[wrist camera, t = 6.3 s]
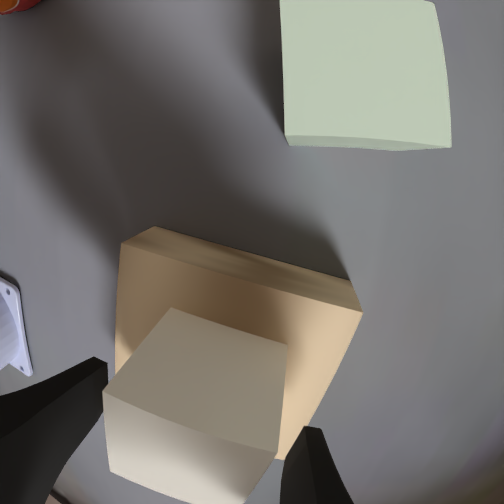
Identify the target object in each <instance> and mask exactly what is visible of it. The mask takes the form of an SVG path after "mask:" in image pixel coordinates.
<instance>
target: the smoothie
mask: <svg viewBox="0 0 504 504" xmlns="http://www.w3.org/2000/svg"><path fill="white" fill-rule="evenodd" d="M40 1H41V0H0V14H2V15H4V14H10V13H12V12H14V11H25V10H27V9H29V8H31V7H33V6H34V5H36V4H37V3H38V2H40Z"/></svg>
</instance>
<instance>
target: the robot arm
mask: <svg viewBox="0 0 504 504" xmlns="http://www.w3.org/2000/svg"><path fill="white" fill-rule="evenodd" d="M8 363H10V364H11V365H12V366H14V367H15V368H17V369H18V370H20V371H21V372H23V373H24V374H25V375H27V376H31V375H32V374H33V371H32V366H31V362H30V357H29V352H28V347H27V342H26V336H25V330H24V323H23V316H22V309H21V300H20V293H19V290H18V288H17V287H16V286H15V285H13V284H11V283H10V282H8V281H6V280H4V279H3V278H1V277H0V370H1V369H2V368H3V367H5V366H6V365H7V364H8ZM107 385H108V368H107V363H106V362H104V361H102V360H100V359H98V358H96V357H92V358H90V359H88V360H85V361H83V362H81V363H79V364H77V365H75V366H74V367H72V368H70V369H68V370H65V371H63V372H61V373H59V374H57V375H55V376H53V377H51V378H49V379H46V380H44V381H42V382H39V383H37V384H34V385H32V386H29V387H27V388H24V389H22V390H19V391H16V392H12V393H9V394H5V395H1V396H0V504H45V502H46V500H47V497H48V496H49V494H50V491H51V489H52V487H53V485H54V483H55V482H56V480H57V478H58V476H59V474H60V472H61V471H62V469H63V467H64V465H65V464H66V462H67V461H68V459H69V458H70V457H71V455H72V454H73V453H74V451H75V450H76V449H77V447H78V446H79V445H80V443H81V442H82V441H83V439H84V438H85V437H86V435H87V434H88V433H89V432H90V430H91V429H92V428H93V426H94V425H95V423H96V422H97V421H98V419H99V417H100V416H101V414H102V412H103V394H102V391H103V390H104V389H105V387H106V386H107ZM280 504H354V503H353V501H352V499H351V498H350V496H349V494H348V492H347V490H346V488H345V486H344V484H343V482H342V480H341V477H340V475H339V473H338V471H337V469H336V466H335V464H334V461H333V459H332V456H331V454H330V451H329V449H328V446H327V443H326V440H325V438H324V435H323V432H322V430H321V429H320V428H315V427H309V426H303V428H302V430H301V432H300V433H299V435H298V437H297V439H296V440H295V442H294V444H293V445H292V447H291V449H290V450H289V452H288V454H287V455H286V457H285V462H284V467H283V473H282V479H281V492H280Z"/></svg>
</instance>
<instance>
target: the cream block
mask: <svg viewBox="0 0 504 504" xmlns="http://www.w3.org/2000/svg"><path fill="white" fill-rule="evenodd" d="M287 350H288V345H287V344H283V343H280V342H276V341H273V340H269V339H266V338H263V337H259V336H256V335H253V334H250V333H246V332H243V331H240V330H237V329H234V328H231V327H227V326H224V325H221V324H218V323H215V322H212V321H209V320H206V319H203V318H200V317H197V316H195V315H192V314H189V313H186V312H183V311H180V310H177V309H175V308H172V307H171V308H170V309H169V310H168V311H167V312H166V314H165V315H164V316H163V317H162V318H161V320H160V321H159V322H158V323H157V325H156V326H155V327H154V328H153V329H152V331H151V332H150V333H149V334H148V335H147V337H146V338H145V339H144V340H143V342H142V343H141V344H140V345H139V346H138V348H137V349H136V350H135V351H134V353H133V354H132V355H131V356H130V357H129V359H128V360H127V361H126V362H125V364H124V365H123V366H122V367H121V369H120V370H119V371H118V372H117V374H116V375H115V376H114V377H113V379H112V380H111V381H110V382H109V384H108V385H107V386H106V387H105V389H104V390H103V391H102V394H103V410H104V423H105V433H106V443H107V451H108V459H109V466H110V471H111V472H113V473H115V474H117V475H119V476H122V477H124V478H126V479H128V480H130V481H133V482H135V483H137V484H140V485H142V486H144V487H147V488H149V489H152V490H154V491H157V492H160V493H162V494H165V495H168V496H171V497H173V498H176V499H179V500H182V501H185V502H188V503H192V504H243V503H244V502H245V500H246V499H247V498H248V496H249V495H250V493H251V492H252V491H253V489H254V488H255V486H256V485H257V483H258V482H259V480H260V479H261V478H262V476H263V475H264V473H265V472H266V470H267V469H268V467H269V466H270V464H271V462H272V461H273V459H274V458H275V456H276V455H277V453H278V445H279V436H280V427H281V417H282V407H283V396H284V385H285V374H286V362H287Z"/></svg>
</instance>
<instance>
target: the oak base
mask: <svg viewBox="0 0 504 504" xmlns="http://www.w3.org/2000/svg"><path fill="white" fill-rule="evenodd" d="M171 307H172V308H175V309H177V310H180V311H183V312H186V313H189V314H192V315H195V316H197V317H200V318H203V319H206V320H209V321H212V322H215V323H218V324H221V325H224V326H227V327H231V328H234V329H237V330H240V331H243V332H246V333H250V334H253V335H256V336H259V337H263V338H266V339H269V340H273V341H276V342H280V343H283V344H287V345H288V350H287V362H286V374H285V385H284V396H283V407H282V417H281V427H280V436H279V445H278V453H277V455H276V456H275V458H276V459H282V460H285V457H286V455H287V454H288V452H289V450H290V449H291V447H292V445H293V444H294V442H295V440H296V439H297V437H298V435H299V433H300V432H301V430H302V428H303V426H307V425H308V423H309V421H310V420H311V418H312V416H313V414H314V412H315V411H316V409H317V407H318V405H319V403H320V401H321V400H322V398H323V396H324V394H325V392H326V390H327V388H328V386H329V384H330V382H331V381H332V379H333V377H334V375H335V373H336V371H337V369H338V367H339V365H340V362H341V360H342V358H343V356H344V354H345V352H346V350H347V348H348V346H349V344H350V341H351V339H352V337H353V335H354V333H355V330H356V328H357V326H358V324H359V321H360V319H361V317H362V314H363V311H362V308H361V306H360V303H359V300H358V298H357V295H356V293H355V290H354V288H353V286H352V283H351V281H348V280H345V279H341V278H337V277H334V276H330V275H327V274H323V273H320V272H316V271H313V270H309V269H305V268H302V267H298V266H295V265H291V264H288V263H284V262H280V261H277V260H273V259H270V258H266V257H263V256H259V255H256V254H252V253H248V252H245V251H241V250H238V249H234V248H231V247H227V246H224V245H220V244H216V243H213V242H209V241H206V240H202V239H199V238H195V237H192V236H188V235H185V234H181V233H177V232H174V231H170V230H167V229H163V228H160V227H156V226H154V227H152V228H150V229H148V230H146V231H144V232H142V233H140V234H138V235H136V236H134V237H132V238H130V239H128V240H126V241H124V242H122V243H121V249H120V259H119V271H118V285H117V302H116V329H115V375H116V374H117V372H118V371H119V370H120V369H121V367H122V366H123V365H124V364H125V362H126V361H127V360H128V359H129V357H130V356H131V355H132V354H133V353H134V351H135V350H136V349H137V348H138V346H139V345H140V344H141V343H142V342H143V340H144V339H145V338H146V337H147V335H148V334H149V333H150V332H151V331H152V329H153V328H154V327H155V326H156V325H157V323H158V322H159V321H160V320H161V318H162V317H163V316H164V315H165V314H166V312H167V311H168V310H169V309H170V308H171Z"/></svg>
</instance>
